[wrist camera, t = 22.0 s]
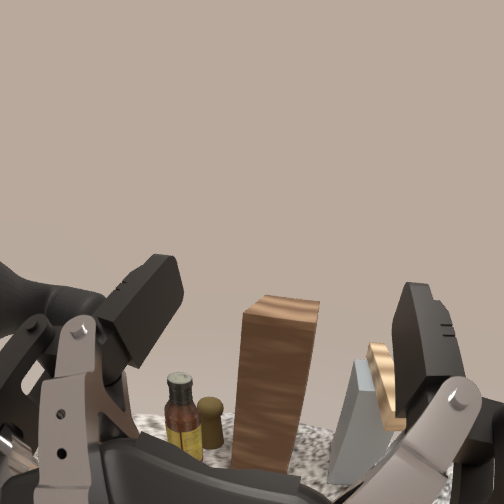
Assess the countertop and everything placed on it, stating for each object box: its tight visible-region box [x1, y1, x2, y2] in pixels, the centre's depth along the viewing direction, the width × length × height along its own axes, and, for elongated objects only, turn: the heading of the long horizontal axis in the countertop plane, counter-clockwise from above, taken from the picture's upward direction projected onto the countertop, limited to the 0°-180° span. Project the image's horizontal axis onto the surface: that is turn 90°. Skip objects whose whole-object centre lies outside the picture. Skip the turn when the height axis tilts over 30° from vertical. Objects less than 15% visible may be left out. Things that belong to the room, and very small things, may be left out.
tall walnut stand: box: [231, 295, 320, 474], centre depth 45 cm, size 14×10×32 cm
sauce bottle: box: [165, 372, 203, 462], centre depth 41 cm, size 6×6×20 cm
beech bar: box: [366, 342, 406, 431], centre depth 36 cm, size 24×3×3 cm, turn 165°
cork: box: [197, 397, 224, 449], centre depth 49 cm, size 6×6×11 cm
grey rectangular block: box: [327, 359, 394, 485], centre depth 41 cm, size 12×8×22 cm, turn 165°
